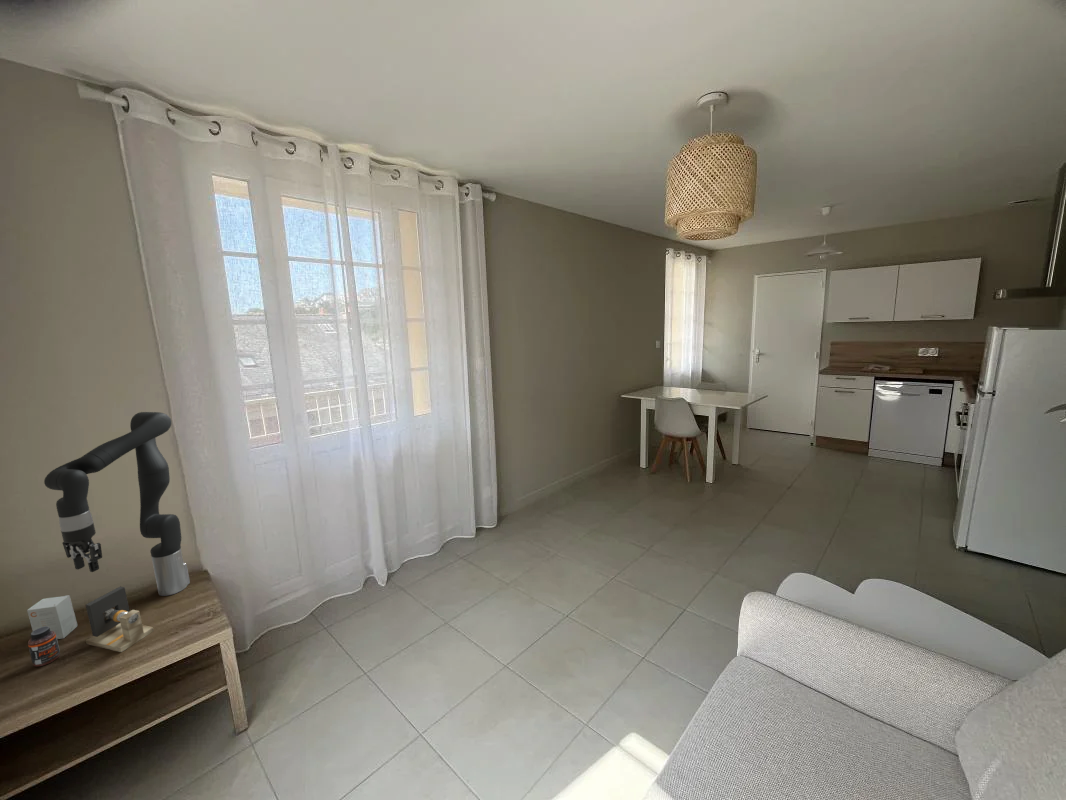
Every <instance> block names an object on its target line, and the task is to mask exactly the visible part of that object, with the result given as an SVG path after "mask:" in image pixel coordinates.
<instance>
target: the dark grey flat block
mask: <svg viewBox="0 0 1066 800" xmlns="http://www.w3.org/2000/svg"><path fill="white" fill-rule="evenodd" d="M126 593H127V591H126V587H125V586H121V585H120V586H118V587H116V588H115V589H112V590H111V591H109V592H107V593H105V594H103V595H101V596H99V597H98V598H95V599H94V600H91V601H90V602H88V603H86V604H85V609H86V613H87V617H88V621H89V626H90V629H91V630H90V631H91V633H92V636H95V637H98V636H100V635H101V634H103V633H105V632H106V631H108V630H110V629H111V628H113V627H115V626H116V625H118V624H120V622H116V621H114V620H111V619H107V620H106V621H105V620H104V615H103V613H104V612H106V611H107V610H109V609H111V608H112V609H115V610H125V611H127V612H130V611H131V610H130V606H129V602H128V601H129V600H128V598H127V594H126Z"/></svg>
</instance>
